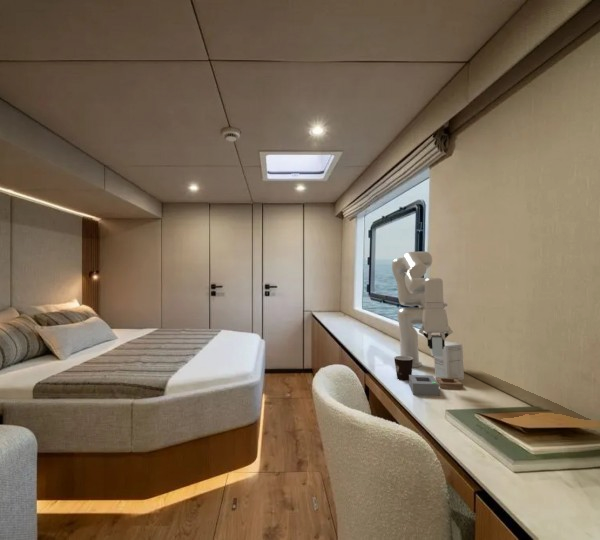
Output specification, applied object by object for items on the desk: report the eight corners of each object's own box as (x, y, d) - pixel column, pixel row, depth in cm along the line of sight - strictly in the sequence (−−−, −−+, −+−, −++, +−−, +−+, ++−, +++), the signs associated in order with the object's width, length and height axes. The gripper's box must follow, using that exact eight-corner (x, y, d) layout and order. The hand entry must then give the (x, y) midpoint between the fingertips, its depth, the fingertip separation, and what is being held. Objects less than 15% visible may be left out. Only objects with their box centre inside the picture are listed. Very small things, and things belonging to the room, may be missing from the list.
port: (409, 386, 143) (408, 373, 143) (433, 387, 141) (432, 374, 141) (413, 395, 131) (412, 382, 131) (439, 396, 129) (438, 383, 129)
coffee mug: (415, 382, 148) (414, 360, 149) (395, 381, 150) (395, 359, 150) (411, 374, 160) (410, 354, 160) (393, 374, 161) (392, 354, 162)
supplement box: (450, 374, 158) (449, 340, 159) (464, 380, 149) (463, 343, 150) (434, 376, 156) (432, 341, 156) (447, 382, 147) (446, 345, 147)
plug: (430, 354, 141) (429, 334, 142) (440, 354, 141) (439, 334, 141) (432, 356, 137) (432, 336, 138) (442, 356, 137) (441, 336, 137)
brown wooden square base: (435, 382, 147) (435, 377, 147) (457, 383, 145) (456, 378, 145) (440, 389, 138) (440, 383, 138) (462, 390, 136) (462, 384, 136)
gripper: (452, 305, 142) (453, 346, 142) (413, 305, 145) (414, 346, 144) (457, 306, 135) (459, 350, 134) (416, 307, 138) (417, 350, 137)
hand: (436, 347), depth 139 cm, fingers closed on plug, 4 cm apart
